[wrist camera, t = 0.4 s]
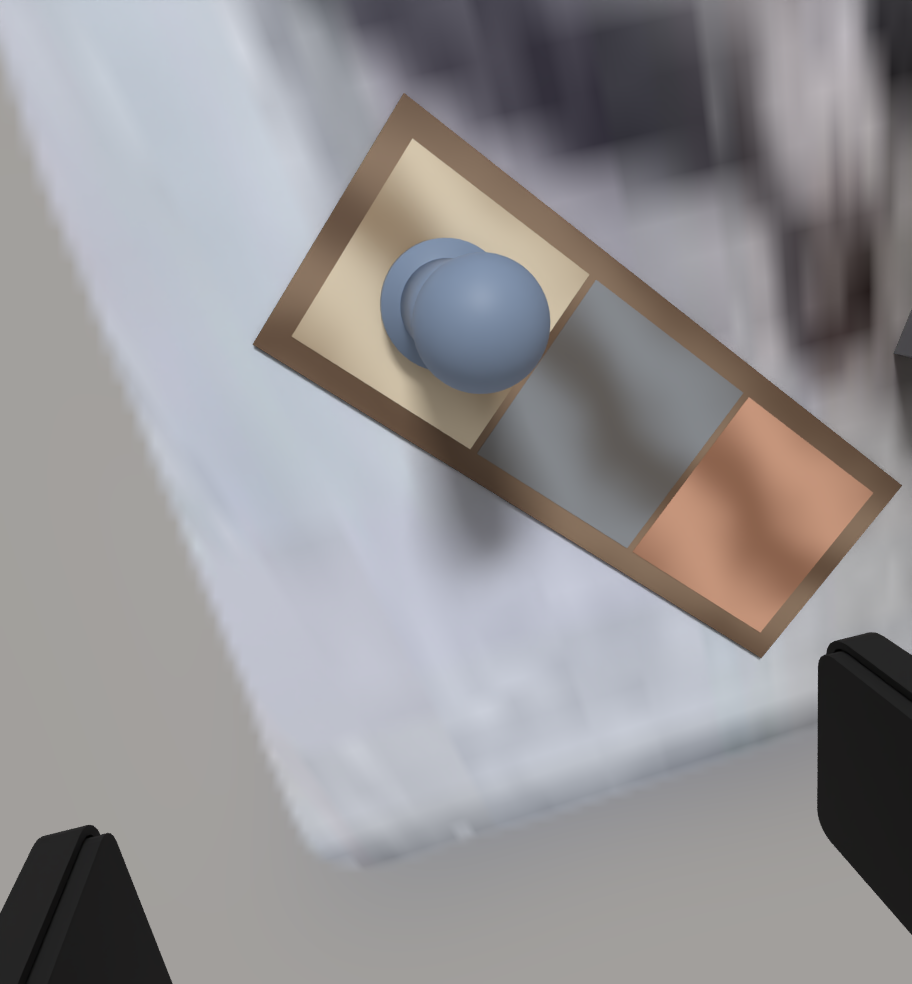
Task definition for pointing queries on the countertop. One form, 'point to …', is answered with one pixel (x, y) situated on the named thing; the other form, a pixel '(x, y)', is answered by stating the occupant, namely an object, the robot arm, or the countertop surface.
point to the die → (905, 340)
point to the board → (584, 396)
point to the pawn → (465, 314)
